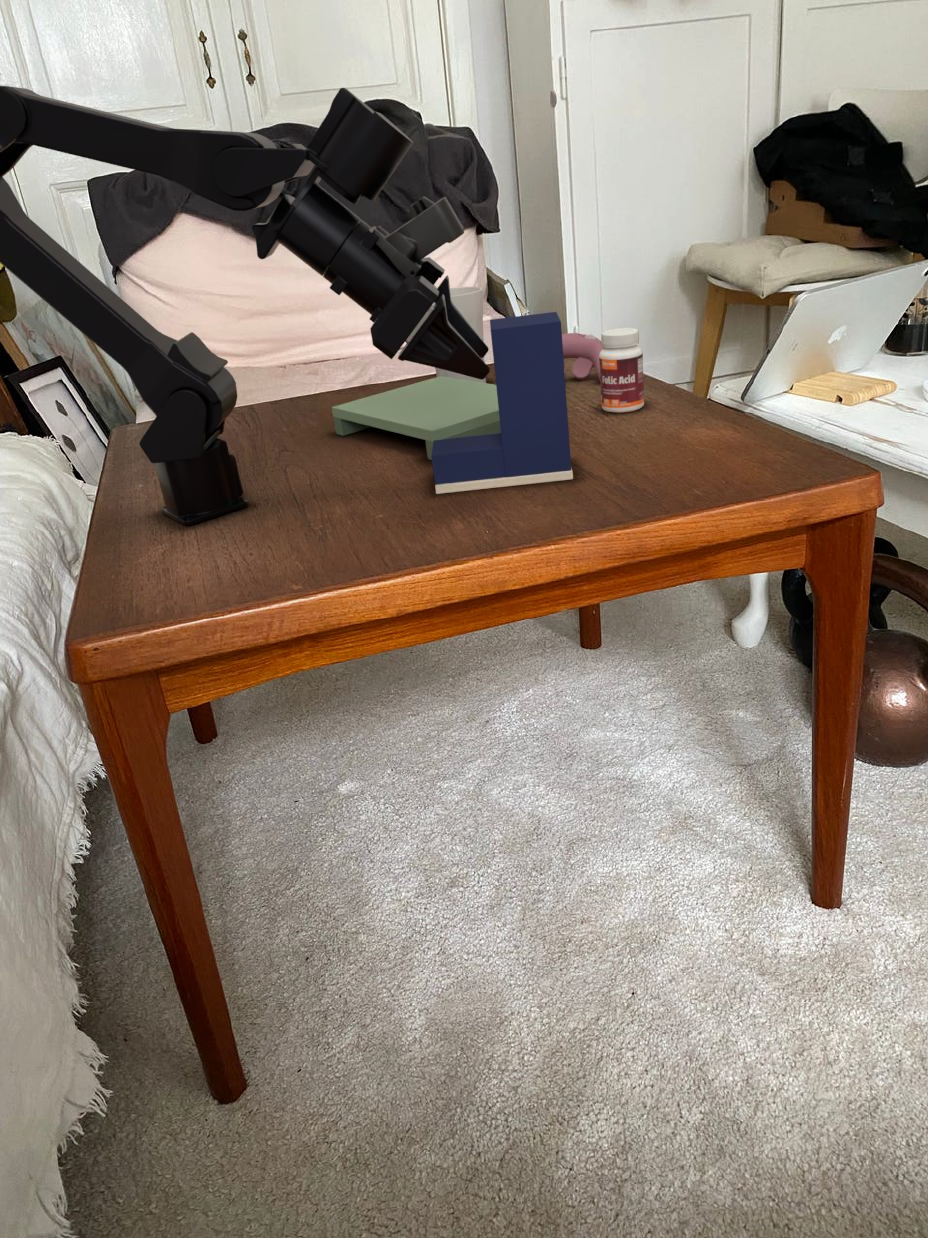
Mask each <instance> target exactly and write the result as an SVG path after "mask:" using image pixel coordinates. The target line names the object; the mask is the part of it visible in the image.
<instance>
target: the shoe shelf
mask: <svg viewBox="0 0 928 1238" xmlns="http://www.w3.org/2000/svg"><path fill="white" fill-rule="evenodd" d="M331 412H332V417H333V425H334V429H335V434H336V435H339V436H347V435H350V434H354V433H358V432H361V431H364V430H366V429H371V428H376V429H380V430H383V431H388V432H393V433H395V434H399V435H403V436H408V437H412V438H416V439H420V440H424V441H425V449H426V454H427V459H428V460H431V461H432V458H431V455H432V448H433V441H434V440H443V439H452V438H460V437H469V436H478V435H487V434H496V433H501V427H500V417H499V407H498V398H497V388H496V384H493V383H487V382H486V383H481V382H475V381H469V380H463V379H457V378H450V377H444V376H439V377H437V376H436V377H432V378H430V379H426V380H422V381H419V382H415V383H412V384H408V385H405V386H404V385H403V386H400V387H397V388H394V389H390V390H387V391H384V392H379V393H376V394H373V395H369V396H366V397H362V398H358V399H355V400H352V401H349V402H348V401H347V402H345V403H344V402H343V403H342V404H337V405H334V406H331Z"/></svg>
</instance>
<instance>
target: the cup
mask: <svg viewBox="0 0 928 1238" xmlns="http://www.w3.org/2000/svg"><path fill="white" fill-rule="evenodd" d="M450 294H451V300H452V302H453V304H454V305H455V306H456V308H457V309H458V310H459V311H460V313H461V314H462V315H463V317H464V318H465V319H466V320H467V322H468V323H469V324H470V325H471V327H472V328H473V329H474V330H475V332H476V333H477V334H478V335H479V337H480V338H481V339H482V340H483V342H484V343H485V340H484V339H485V338H484V289H483V287H481V286H460V287H458V286H457V287H450ZM481 359H482V360H483V361H484V362H485V356H484V357H483V358H481ZM434 369H435V375H436V377H439V376H444V377H450V378H457V379H463V380H469V381H475V382H481V383H487V380H486V377H487V376H486V377H485V378H484V379H482V380H481V379H477V378H473V377H470V376H466V375H462V374H458V373H455V372H451V371H447V370H443V369H439V368H435V367H434Z"/></svg>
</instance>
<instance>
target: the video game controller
mask: <svg viewBox="0 0 928 1238" xmlns="http://www.w3.org/2000/svg"><path fill="white" fill-rule="evenodd" d="M562 343H563V358H564V360H567V359H576V360H575V361H574V363H573V365H572V368H571V371H572V374H573V376H574V378H575V379H577V380H579V381H584V380H586V379H588V378H589V376H590V374H591V372H592V370H593V368H594V369H595V372H596V375H597V377H598V380H599V381H600V363H599V354H600V352H601V351H602V350H603V349H604V347H603V346H602V343H601V340H600V339H599V338H598V337H596V336H595V335H594V334H592V333H591V334H583V333H578V332H568V333H562ZM564 372H565V373H566V368H565V367H564Z"/></svg>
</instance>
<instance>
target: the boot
mask: <svg viewBox="0 0 928 1238" xmlns="http://www.w3.org/2000/svg"><path fill="white" fill-rule="evenodd" d="M489 326H490V327H489V329H490V337H491V346H492V356H493V367H494V376H495V377H494V379H495V385H496V388H497V398H498V407H499V417H500V427H501V433H496V434H487V435H478V436H469V437H460V438H452V439H443V440H434V441H433V448H432V455H431V458H432V460H431V462H432V463H431V465H432V473H433V478H434V485H435V486H434V488H435V494H436V495H440V494H449V493H451V494H452V493H459V492H468V491H478V490H487V489H488V490H489V489H496V488H504V487H505V488H506V487H513V486H522V485H523V486H524V485H532V484H544V483H552V482H560V481H561V482H562V481H570V480H574V472H573V468H572V459H571V446H570V445H571V444H570V430H569V416H568V402H567V390H566V389H567V388H566V371H565V372H564V368H565V359H564V358H563V343H562V334H563V331H562V321H561V319H560V316H559V314H558V313H557V311H550V312H542V313H535V314H526V315H517V316H510V317H502V318H493V319H492V318H491V319H489Z"/></svg>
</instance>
